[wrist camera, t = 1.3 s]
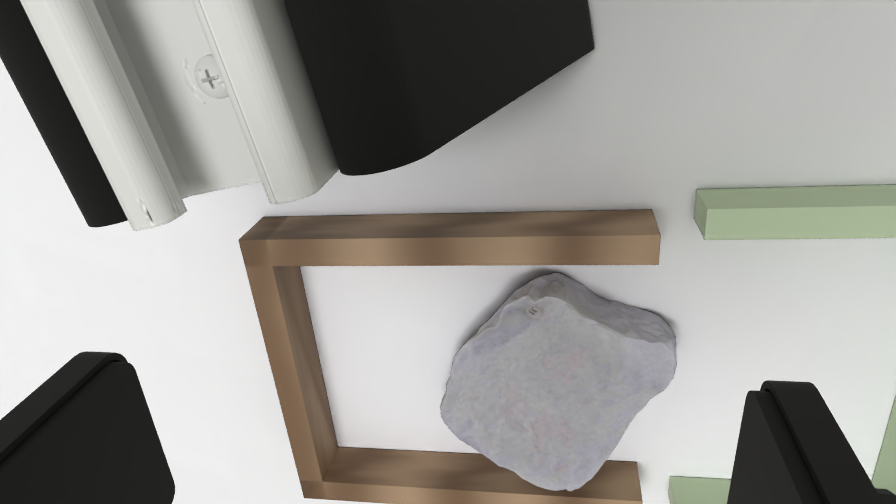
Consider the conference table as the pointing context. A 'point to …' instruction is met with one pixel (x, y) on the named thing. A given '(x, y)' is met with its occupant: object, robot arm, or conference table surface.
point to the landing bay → (793, 218)
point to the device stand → (266, 88)
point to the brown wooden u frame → (419, 244)
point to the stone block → (556, 380)
